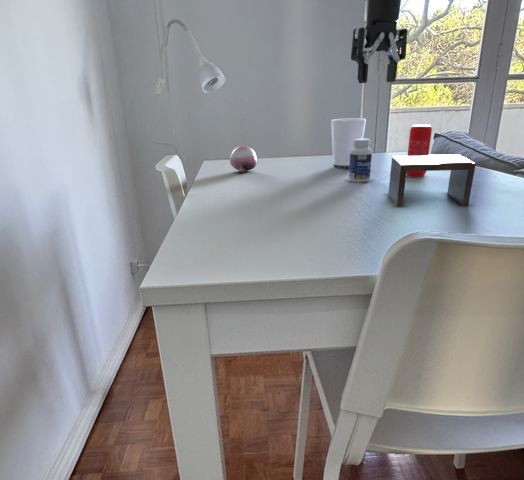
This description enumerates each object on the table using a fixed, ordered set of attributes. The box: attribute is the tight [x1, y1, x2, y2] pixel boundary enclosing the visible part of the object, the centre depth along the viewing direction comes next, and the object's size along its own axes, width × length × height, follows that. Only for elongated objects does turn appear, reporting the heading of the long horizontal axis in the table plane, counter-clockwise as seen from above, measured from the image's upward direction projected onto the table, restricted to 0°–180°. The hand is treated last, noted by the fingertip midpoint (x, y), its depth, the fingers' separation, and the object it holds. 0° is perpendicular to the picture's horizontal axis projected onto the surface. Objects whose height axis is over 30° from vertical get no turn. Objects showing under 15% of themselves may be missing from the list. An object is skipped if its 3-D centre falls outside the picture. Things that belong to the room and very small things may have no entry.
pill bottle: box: [348, 137, 373, 183], centre depth 118 cm, size 5×5×10 cm
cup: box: [330, 117, 367, 170], centre depth 137 cm, size 10×10×13 cm
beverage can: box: [406, 124, 433, 178], centre depth 120 cm, size 5×5×12 cm
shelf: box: [388, 154, 477, 208], centre depth 98 cm, size 14×12×8 cm
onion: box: [229, 144, 258, 173], centre depth 137 cm, size 8×8×7 cm
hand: (376, 82), depth 109 cm, fingers open, 8 cm apart
